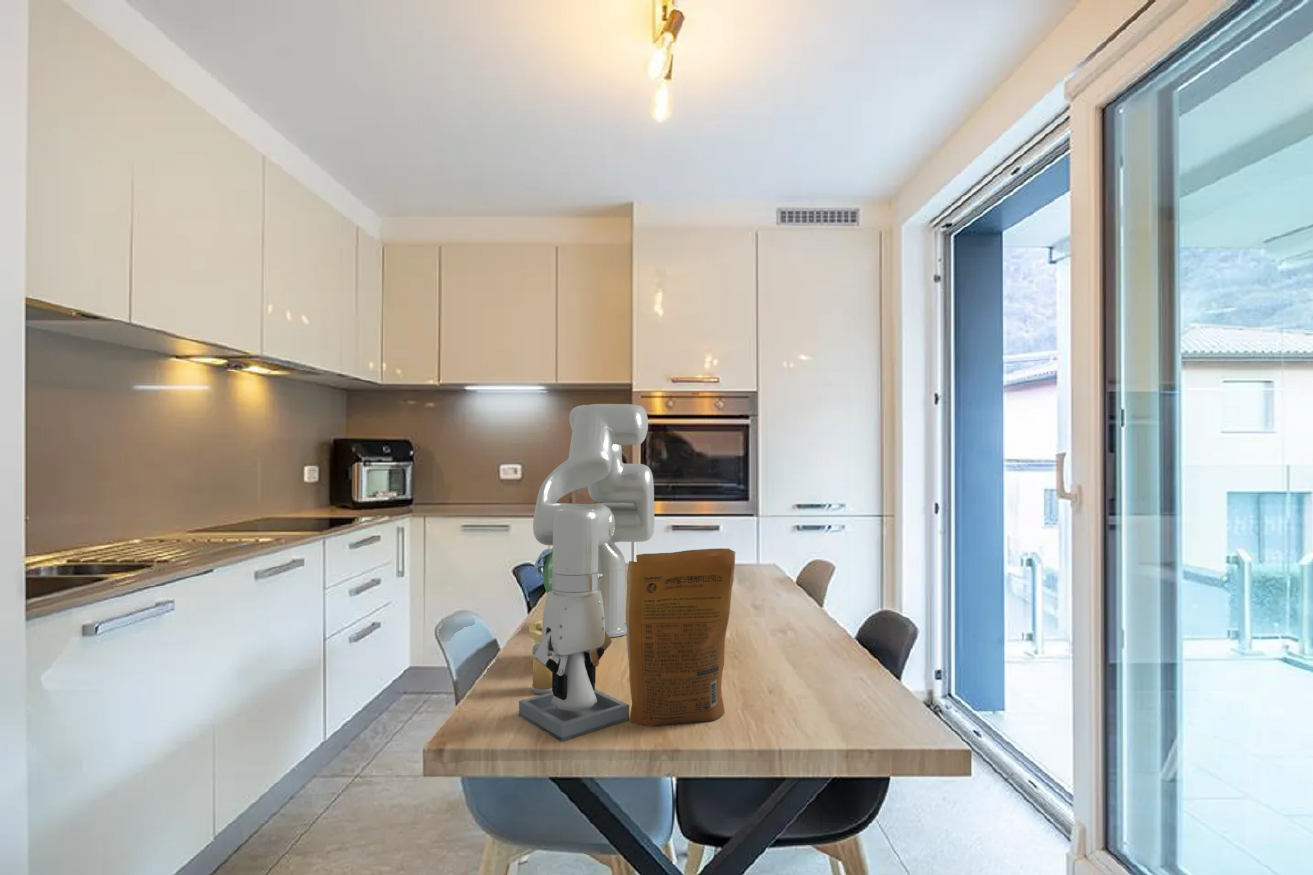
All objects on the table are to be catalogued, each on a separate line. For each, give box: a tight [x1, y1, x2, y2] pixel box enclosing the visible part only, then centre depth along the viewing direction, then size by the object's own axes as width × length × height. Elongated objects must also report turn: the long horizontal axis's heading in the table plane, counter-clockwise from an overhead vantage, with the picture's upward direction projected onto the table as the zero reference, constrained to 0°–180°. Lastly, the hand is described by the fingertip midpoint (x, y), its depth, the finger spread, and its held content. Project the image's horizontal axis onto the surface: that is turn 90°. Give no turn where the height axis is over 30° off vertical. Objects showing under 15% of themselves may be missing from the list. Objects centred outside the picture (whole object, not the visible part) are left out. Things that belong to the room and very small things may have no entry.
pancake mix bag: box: [625, 548, 736, 727], centre depth 108 cm, size 7×19×28 cm, turn 104°
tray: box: [518, 688, 630, 743], centre depth 108 cm, size 13×13×2 cm
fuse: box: [531, 644, 553, 696], centre depth 121 cm, size 5×5×8 cm
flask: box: [551, 652, 597, 711], centre depth 108 cm, size 7×7×10 cm
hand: (574, 692), depth 108 cm, fingers closed on flask, 4 cm apart
